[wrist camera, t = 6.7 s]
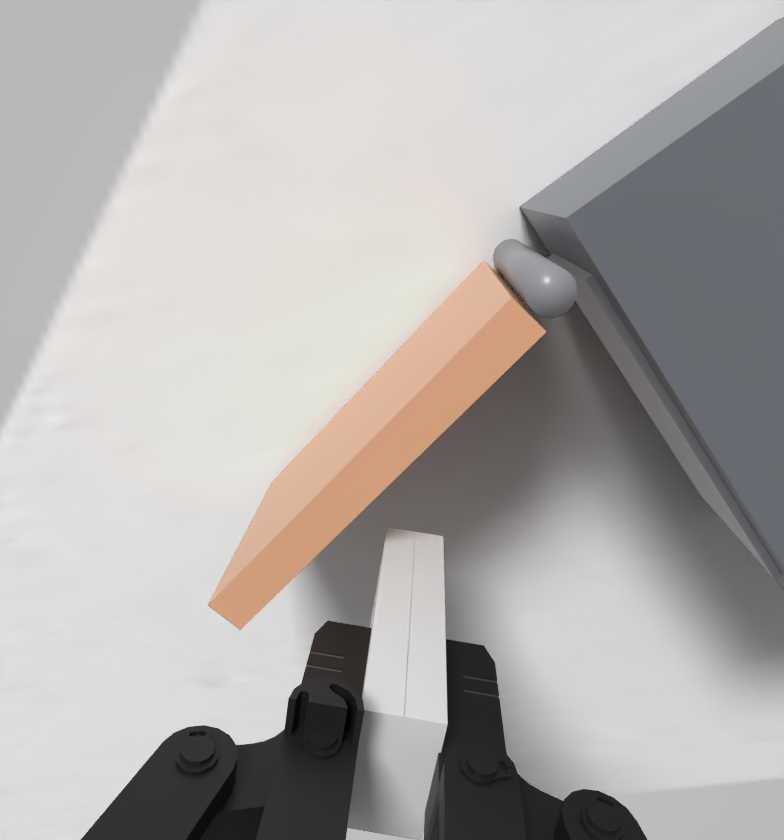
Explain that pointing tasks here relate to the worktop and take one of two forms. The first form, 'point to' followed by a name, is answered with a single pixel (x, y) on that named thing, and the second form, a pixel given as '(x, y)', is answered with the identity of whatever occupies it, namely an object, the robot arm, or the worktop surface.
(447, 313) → the side door
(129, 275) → the worktop surface
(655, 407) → the camera housing
